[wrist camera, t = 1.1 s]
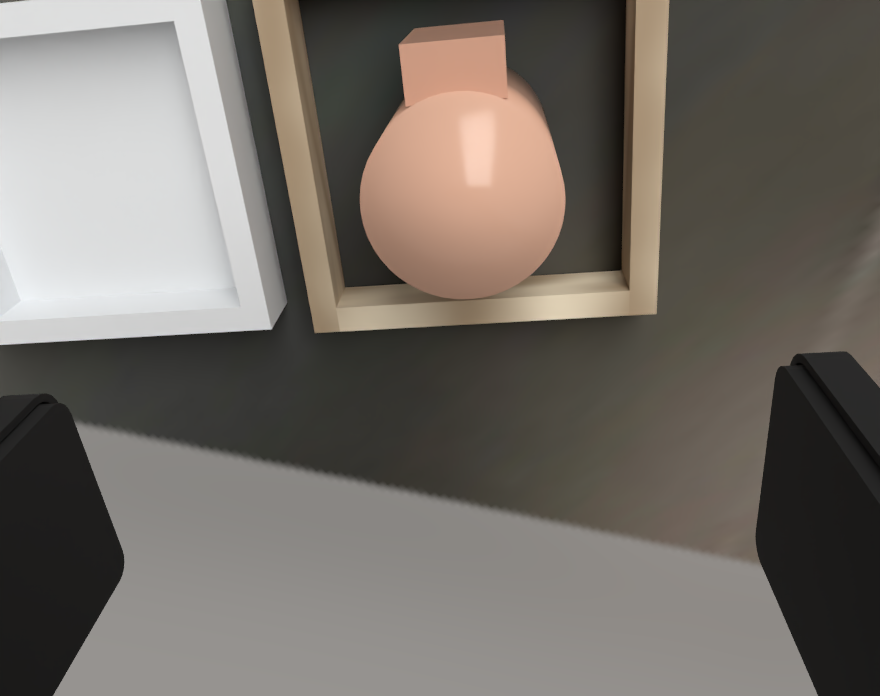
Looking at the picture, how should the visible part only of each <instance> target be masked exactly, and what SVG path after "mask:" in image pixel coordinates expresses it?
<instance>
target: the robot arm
mask: <svg viewBox="0 0 880 696" xmlns="http://www.w3.org/2000/svg"><path fill="white" fill-rule="evenodd" d="M756 546H757V552H758V557H759V560H760V563H761V565H762V567H763V570H764V572H765V574H766V576H767V579H768V581H769V583H770V586H771V588H772V590H773V593H774V595H775V597H776V599H777V601H778V604H779V606H780V608H781V611H782V613H783V616H784V618H785V620H786V623H787V625H788V627H789V629H790V632H791V634H792V636H793V639H794V641H795V643H796V646H797V648H798V650H799V652H800V654H801V657H802V659H803V662H804V664H805V666H806V669H807V671H808V673H809V676H810V678H811V680H812V682H813V685H814V687H815V689H816V692H817V694H818V696H880V388H879V387H878V386H877V384H876V383H875V382H874V381H873V380H872V379H871V377H870V376H869V375H868V374H867V373H866V372H865V371H864V369H863V368H862V367H861V366H860V365H859V364H858V363H857V361H856V360H855V359H854V358H853V357H852V356H851V355H850V354H849V353H847V352H824V353H805V354H796V355H795V356H794V357H793V359H792V361H791V364H790V366H780V367H779V368H778V370H777V372H776V377H775V384H774V391H773V399H772V407H771V415H770V423H769V431H768V439H767V447H766V455H765V463H764V471H763V479H762V487H761V495H760V503H759V511H758V519H757V527H756ZM123 569H124V554H123V550H122V548H121V545H120V542H119V540H118V537H117V534H116V532H115V529H114V527H113V524H112V521H111V519H110V516H109V513H108V510H107V508H106V505H105V503H104V500H103V497H102V495H101V492H100V489H99V487H98V484H97V481H96V479H95V476H94V473H93V471H92V468H91V465H90V463H89V460H88V457H87V455H86V452H85V449H84V447H83V444H82V441H81V439H80V436H79V433H78V431H77V428H76V425H75V423H74V420H73V417H72V415H71V413H70V411H69V409H68V408H67V407H66V406H65V405H64V404H61V403H58V402H57V400H56V399H55V398H54V397H53V396H51V395H49V394H28V395H9V396H3V397H1V398H0V696H53V694H54V693H55V691H56V689H57V687H58V686H59V684H60V682H61V681H62V679H63V677H64V676H65V674H66V672H67V670H68V669H69V667H70V665H71V664H72V662H73V660H74V658H75V657H76V655H77V653H78V651H79V650H80V648H81V646H82V645H83V643H84V641H85V639H86V638H87V636H88V634H89V633H90V631H91V629H92V627H93V626H94V624H95V622H96V621H97V619H98V617H99V615H100V614H101V612H102V610H103V609H104V607H105V605H106V603H107V602H108V600H109V598H110V597H111V595H112V593H113V591H114V590H115V588H116V586H117V584H118V583H119V581H120V579H121V577H122V573H123Z"/></svg>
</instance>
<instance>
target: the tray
mask: <svg viewBox="0 0 880 696" xmlns="http://www.w3.org/2000/svg"><path fill="white" fill-rule="evenodd" d="M286 304H287V298H286V293H285V288H284V283H283V278H282V273H281V269H280V264H279V259H278V254H277V249H276V244H275V239H274V234H273V229H272V224H271V219H270V214H269V209H268V204H267V199H266V194H265V190H264V185H263V180H262V175H261V170H260V165H259V160H258V155H257V150H256V145H255V140H254V135H253V130H252V125H251V120H250V116H249V111H248V106H247V101H246V96H245V91H244V86H243V81H242V76H241V71H240V66H239V61H238V56H237V51H236V46H235V41H234V37H233V32H232V27H231V22H230V17H229V12H228V7H227V2H226V0H26V1H16V2H6V3H0V345H6V344H24V343H41V342H59V341H76V340H94V339H112V338H129V337H147V336H164V335H182V334H199V333H217V332H234V331H252V330H270V329H272V328H273V326H274V324H275V323H276V321H277V319H278V318H279V316H280V314H281V312H282V311H283V309H284V307H285V306H286Z"/></svg>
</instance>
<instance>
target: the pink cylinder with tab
mask: <svg viewBox="0 0 880 696" xmlns="http://www.w3.org/2000/svg"><path fill="white" fill-rule="evenodd" d="M399 52H400V61H401V70H402V79H403V88H404V99H403V101H402V102H401V104H400V106H399V107H398V109H397V111H396V112H395V114H394V116H393V117H392V119H391V121H390V122H389V124H388V126H387V127H386V129H385V130H384V132H383V134H382V135H381V137H380V139H379V140H378V142H377V144H376V145H375V147H374V149H373V151H372V153H371V155H370V157H369V159H368V161H367V163H366V166H365V169H364V172H363V176H362V181H361V187H360V210H361V216H362V221H363V226H364V228H365V231H366V234H367V237H368V239H369V241H370V243H371V245H372V247H373V249H374V250H375V252H376V253H377V255H378V256H379V258H380V259H381V260H382V261H383V263H384V264H385V265H386V266H387V267H388V268H389V269H390V270H391V271H392V272H393V273H394V274H395V275H397V276H398V277H399V278H400V279H402V280H403V281H405V282H406V283H408V284H409V285H411V286H413V287H415V288H417V289H419V290H421V291H423V292H426V293H429V294H431V295H435V296H439V297H443V298H450V299H476V298H483V297H487V296H491V295H495V294H498V293H500V292H503V291H506V290H508V289H510V288H512V287H513V286H515V285H517V284H519V283H520V282H522V281H523V280H524V279H526V278H527V277H529V276H530V275H531V274H532V273H533V272H534V271H535V270H536V269H537V268H538V267H539V266H540V265H541V264H542V263H543V261H544V260H545V259H546V258H547V256H548V255H549V253H550V252H551V250H552V248H553V247H554V244H555V242H556V240H557V238H558V236H559V233H560V230H561V227H562V223H563V218H564V213H565V188H564V182H563V177H562V173H561V169H560V166H559V162H558V158H557V155H556V151H555V148H554V144H553V141H552V137H551V134H550V130H549V126H548V123H547V119H546V116H545V112H544V110H543V107H542V104H541V102H540V100H539V98H538V97H537V95H536V93H535V92H534V90H533V89H532V88H531V86H530V85H529V84H528V83H527V82H526V81H525V80H524V79H523V78H522V77H521V76H520V75H518V74H517V73H516V72H515V71H513V70H511V69H510V68H508V67H506V52H505V33H504V21H503V20H497V21H487V22H476V23H466V24H455V25H445V26H434V27H423V28H414V29H413V30H412V31H411V32H410V33H409V35H408V36H407V37H406V38H405V39H404V40H403V41H402V42H401V43H400V44H399Z"/></svg>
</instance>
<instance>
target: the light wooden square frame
mask: <svg viewBox="0 0 880 696" xmlns="http://www.w3.org/2000/svg"><path fill="white" fill-rule="evenodd" d="M252 1H253V7H254V12H255V17H256V23H257V28H258V33H259V39H260V44H261V49H262V54H263V60H264V65H265V70H266V76H267V81H268V86H269V92H270V97H271V102H272V108H273V113H274V118H275V124H276V129H277V134H278V139H279V145H280V150H281V155H282V161H283V166H284V171H285V177H286V182H287V187H288V193H289V198H290V203H291V209H292V214H293V219H294V224H295V230H296V235H297V240H298V246H299V251H300V256H301V262H302V267H303V272H304V278H305V283H306V288H307V294H308V299H309V304H310V309H311V315H312V320H313V325H314V331H315V333H325V332H343V331H360V330H378V329H396V328H414V327H432V326H449V325H467V324H485V323H503V322H521V321H538V320H556V319H574V318H592V317H610V316H627V315H645V314H656V312H657V287H658V263H659V238H660V213H661V189H662V164H663V140H664V115H665V90H666V66H667V41H668V17H669V0H626V45H625V103H624V162H623V220H622V270H620V271H604V272H588V273H572V274H556V275H539V276H529V277H527V278H526V279H524V280H523V281H522V282H520V283H519V284H517V285H515V286H513V287H512V288H510V289H508V290H506V291H503V292H500V293H498V294H495V295H491V296H487V297H483V298H476V299H450V298H443V297H439V296H435V295H431V294H429V293H426V292H423V291H421V290H419V289H417V288H415V287H413V286H411V285H409V284H394V285H378V286H362V287H346V288H345V283H344V277H343V271H342V265H341V259H340V252H339V246H338V240H337V234H336V228H335V222H334V216H333V209H332V203H331V197H330V191H329V185H328V179H327V173H326V166H325V160H324V154H323V148H322V142H321V136H320V130H319V124H318V117H317V111H316V105H315V99H314V93H313V87H312V81H311V74H310V68H309V62H308V56H307V50H306V44H305V38H304V31H303V25H302V19H301V13H300V7H299V1H298V0H252Z"/></svg>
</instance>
